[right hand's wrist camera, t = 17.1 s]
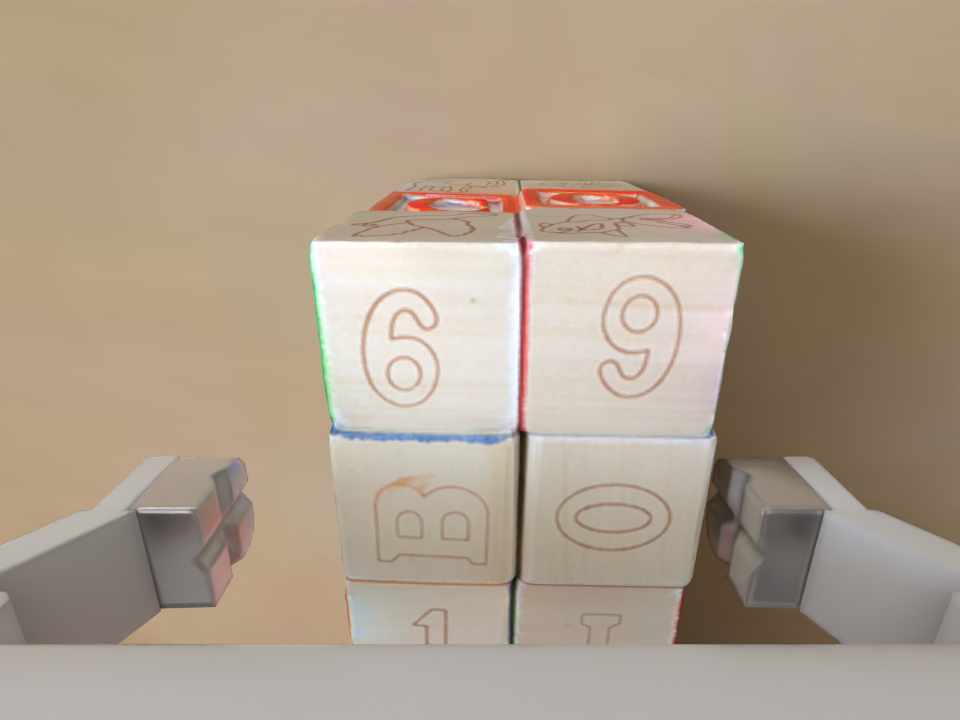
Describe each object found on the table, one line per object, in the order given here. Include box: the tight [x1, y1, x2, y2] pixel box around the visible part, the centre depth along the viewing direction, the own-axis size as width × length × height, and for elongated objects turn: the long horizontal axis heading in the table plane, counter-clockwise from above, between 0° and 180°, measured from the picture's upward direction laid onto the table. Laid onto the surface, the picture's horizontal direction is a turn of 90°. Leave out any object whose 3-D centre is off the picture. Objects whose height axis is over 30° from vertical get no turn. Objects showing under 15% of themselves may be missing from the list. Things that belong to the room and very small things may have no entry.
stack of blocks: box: [310, 179, 745, 644], centre depth 15 cm, size 21×6×12 cm, turn 0°
